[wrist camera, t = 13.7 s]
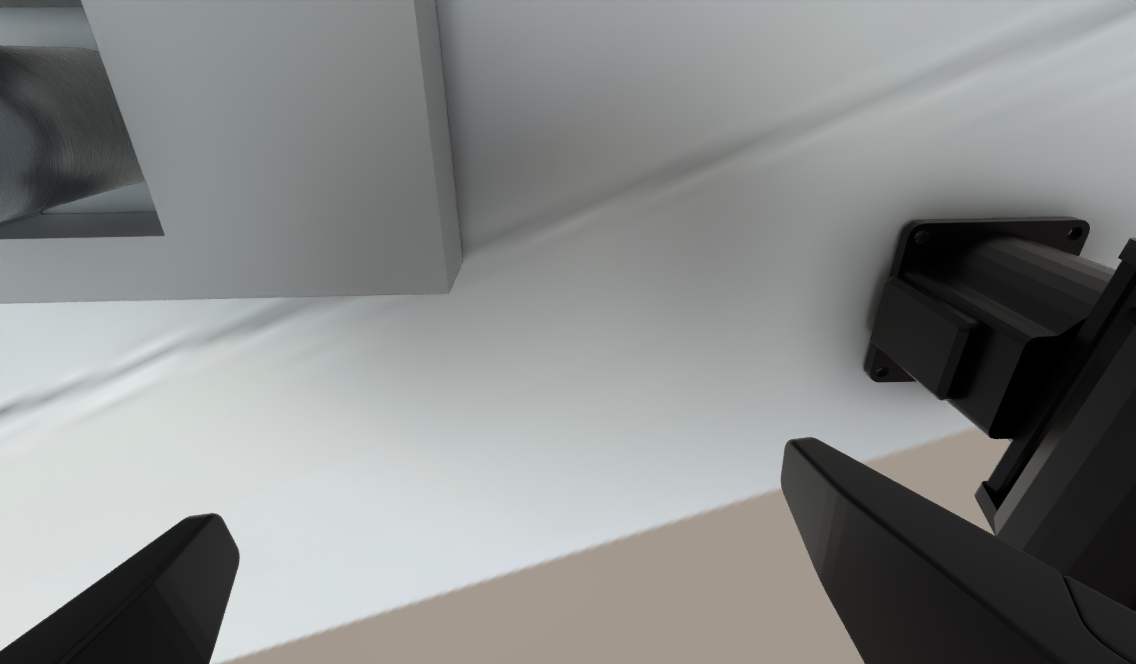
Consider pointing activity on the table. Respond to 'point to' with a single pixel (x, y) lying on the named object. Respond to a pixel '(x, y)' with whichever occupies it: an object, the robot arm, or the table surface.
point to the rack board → (260, 157)
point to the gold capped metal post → (59, 130)
